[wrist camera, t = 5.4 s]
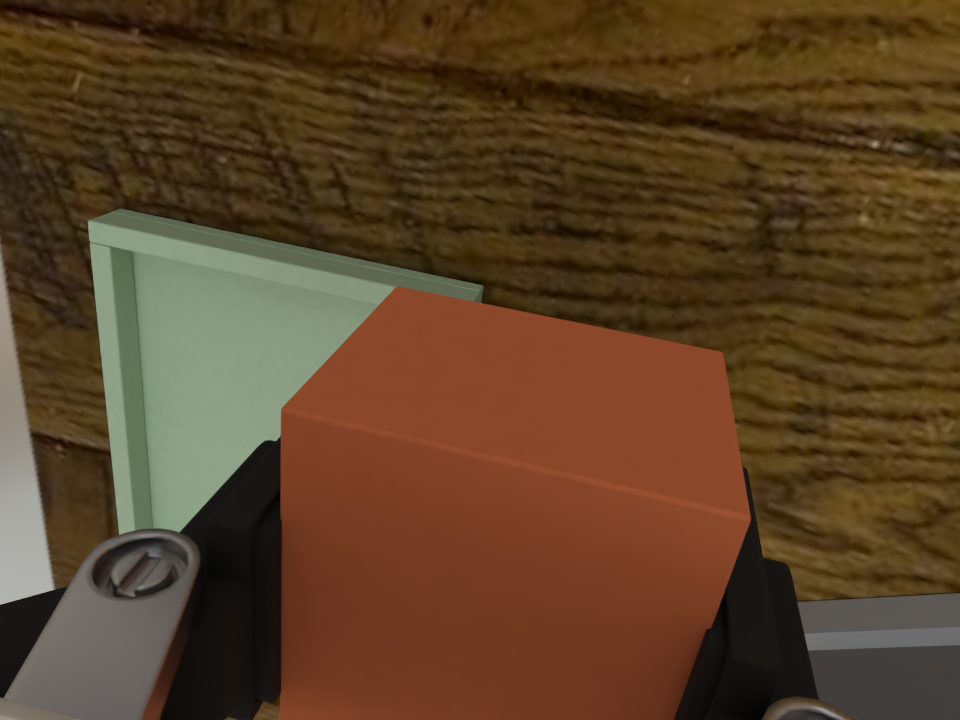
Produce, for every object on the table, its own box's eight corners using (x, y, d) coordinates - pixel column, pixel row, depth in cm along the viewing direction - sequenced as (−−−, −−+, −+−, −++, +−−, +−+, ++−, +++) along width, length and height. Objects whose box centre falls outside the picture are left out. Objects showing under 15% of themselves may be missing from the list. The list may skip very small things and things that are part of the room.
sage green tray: (120, 207, 27) (86, 220, 25) (484, 285, 25) (471, 303, 24) (149, 567, 35) (124, 594, 33) (430, 647, 33) (417, 679, 31)
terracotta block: (396, 284, 12) (278, 407, 8) (724, 351, 11) (753, 518, 7) (373, 576, 14) (277, 764, 11) (634, 644, 14) (624, 869, 10)
